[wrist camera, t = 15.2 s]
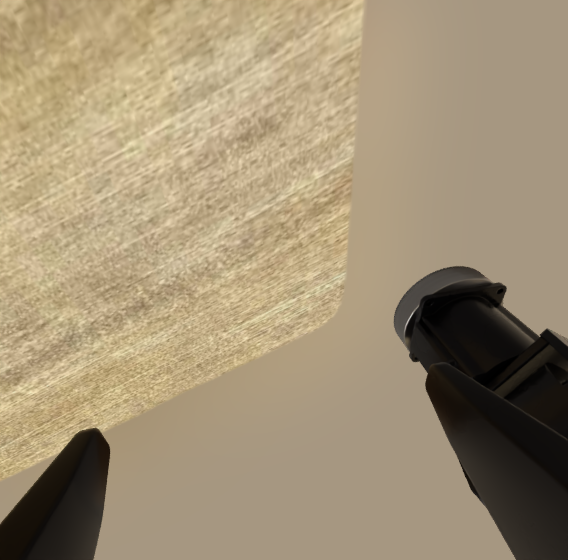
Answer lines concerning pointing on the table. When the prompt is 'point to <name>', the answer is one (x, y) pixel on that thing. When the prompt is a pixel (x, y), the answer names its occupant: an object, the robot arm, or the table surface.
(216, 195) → the table surface
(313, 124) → the table surface
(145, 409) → the table surface
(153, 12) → the table surface
